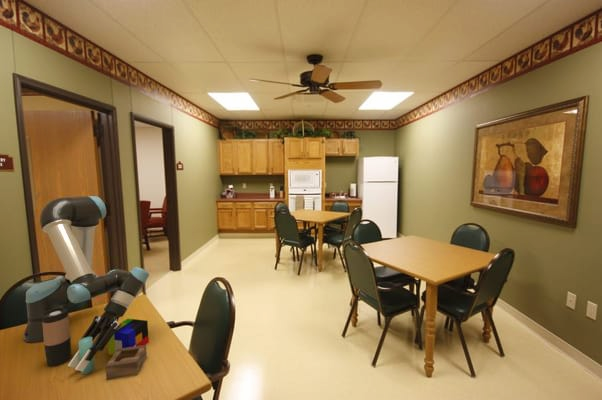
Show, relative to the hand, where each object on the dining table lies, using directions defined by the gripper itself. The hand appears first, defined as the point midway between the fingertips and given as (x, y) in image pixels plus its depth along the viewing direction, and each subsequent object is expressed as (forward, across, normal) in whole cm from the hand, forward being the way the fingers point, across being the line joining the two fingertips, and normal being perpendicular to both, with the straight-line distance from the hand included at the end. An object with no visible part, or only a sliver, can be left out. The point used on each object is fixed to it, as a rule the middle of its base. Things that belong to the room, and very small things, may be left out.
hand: (75, 368), depth 96 cm
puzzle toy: (-10, -1, -16) cm, 19 cm away
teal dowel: (0, 0, -5) cm, 5 cm away
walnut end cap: (-5, -12, -10) cm, 17 cm away
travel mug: (+1, +17, -4) cm, 17 cm away
